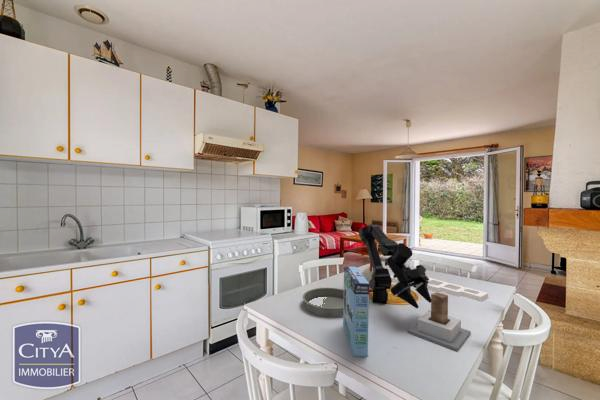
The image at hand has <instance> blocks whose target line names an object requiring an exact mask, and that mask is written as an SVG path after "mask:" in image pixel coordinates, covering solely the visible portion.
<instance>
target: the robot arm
mask: <svg viewBox="0 0 600 400" xmlns="http://www.w3.org/2000/svg"><path fill="white" fill-rule="evenodd" d="M358 236H359V237H360V241H361V242H363V243H364V244H365V246H366V251H367V254H368V256H369V262H370V261H371V264H372V268H373V272H372V275H371V277H372V278H371V280H370V281H369V287H370V288H371V289H373V293H372V299H371V301H372V304H379V305H380V304H381V305H382V304H383V305H387V304H388V301H389V291H387V290H390V292H391V294H392V296H393V297H394V296H396V298H400V299H401V300H403V301H405V302H406V303H408V304H409V305H411V306H412V307H413V308H415V309H419V308H420V306H419V305H418V303H417V301H416V299H415V298H414V296H413V294H412V291H411V287H413V288H414V290H415V291H416V292H417V293H418V294H419V296H421V297H422V298H423V299H425V300H426V302H428V303H429V304H431V295H430V293H429V292H430V291H429V289H427V285H428V283H429V282H428V281H429V278H430V277H428V276H427V273H426V271H427V269H426V267H425V266H424V265H423V264H419V265H416V266H415V268H413V269H412V268H411V267H410V266H406V263H407V262H408V260H410V259H411V257H412V256H413V251H412V249H411V248H410V247H409V246H407V245H405V243H403V242H400V243H399V242H396V241H395V240H393V239H391V238H388V236H387V235H386V234H385V232H384V231H383V230H382V229H381V227H380V225H379V224H373V223H372V224H368V225H367V226H363V227H360V228H359V230H358ZM376 242H377V244H378V245H379V251H380V253H379V251H378V247H377V244H376ZM380 254H381V255H382V256H383V257H387V258H386V259H384V266H385V267H384V266H383V262H382V259H381V256H380ZM386 266H388V267H389V269H390V270H391V272H392V273H393V275H394V276H393V275H391V274H390V271H389V269H388V268H386ZM391 276H393V277H394V278H397V279H398V280H399V282H398V283H397V282H396V283H395V284H394V285H393V286H392V282H393V281H392V279H391Z"/></svg>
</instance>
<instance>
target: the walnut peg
mask: <svg viewBox="0 0 600 400" xmlns="http://www.w3.org/2000/svg"><path fill="white" fill-rule="evenodd" d="M430 297H431V303H430V311H431V321H434V322H437V323H440V324H443V325H446V324H447V323H448V316H449V313H448V312H449V294H446V293H445V294H444V293H443V292H442V293H441V292H436V291H435V292H433V293H432V294H431V295H430Z"/></svg>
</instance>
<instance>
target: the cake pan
mask: <svg viewBox="0 0 600 400" xmlns="http://www.w3.org/2000/svg"><path fill="white" fill-rule="evenodd" d="M318 297H327V298H326V299H325V298H324V299H325V300H324V299H323V304H322V307H321V305H320V306H317V305H313V304H311V303H309V301H310V300H312V299H314V298H318ZM302 299H303V302H304V303H305V306H306V308H307V310H309V311H310V313H311V312H312V313H313V314H315V315H318V316H319V315H320V316H325V317H343V302H344V288H343V289H342V288H337V287H318V288H313V289H309V290H307V291H305V292H304V293H303V294H302ZM324 303H325V304H324Z"/></svg>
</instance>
